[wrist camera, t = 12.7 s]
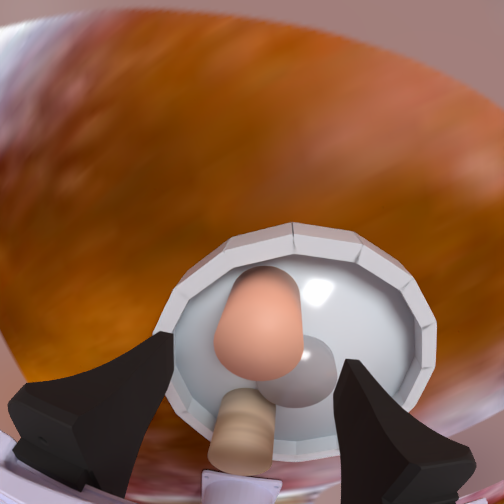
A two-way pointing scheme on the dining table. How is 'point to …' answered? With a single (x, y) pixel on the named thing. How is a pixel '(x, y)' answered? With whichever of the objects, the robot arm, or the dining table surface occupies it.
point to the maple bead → (243, 433)
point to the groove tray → (314, 331)
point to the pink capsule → (261, 325)
